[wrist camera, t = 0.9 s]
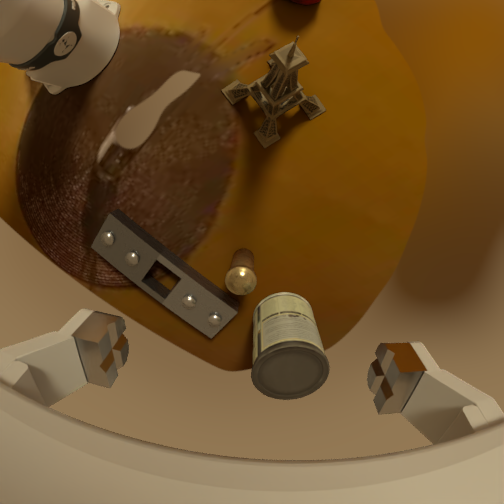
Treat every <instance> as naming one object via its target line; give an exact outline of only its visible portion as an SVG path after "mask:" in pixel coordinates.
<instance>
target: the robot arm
mask: <svg viewBox="0 0 504 504" xmlns="http://www.w3.org/2000/svg"><path fill="white" fill-rule="evenodd" d="M107 7H109V8H107ZM119 12H120V5H119V4H118V3H116V2H112V1H106V0H0V62H4V63H9V65H11V66H12V67H15V68H17V69H21V70H27V72H26V75H28V76H29V77H31V80H33V81H36V82H40V83H43V84H44V86H45V87H46V88H47V90H48V91H49V93H51V94H54V95H56V94H58V93H60V92H61V91H63V90H64V89H66V88H68V87H73V86H78V85H81V84H84V83H86V82H88V81H89V80H91V79H92V78H94V77H95V76H96V75H97V74H99V73H100V72H101V71H102V70H103V69H104V67H105V66H106V65H107V64H108V62H109V61H110V59H111V58H112V56H113V54H114V52H115V50H116V48H117V45H118V41H119V35H120V30H119V24H118V16H119ZM125 329H126V326H125V321H124V319H123V318H122V317H120V316H115V315H111V314H107V313H102V312H98V311H94V310H89V309H81V310H80V311H78V313H76V314H75V315H74V316H73V318H71V319H70V320H69V322H67V323H66V324H65V325H64V326H63V327H62V328H61V329H60V330H59V332H55V331H54V332H50V333H47V334H44V335H41V336H38V337H35V338H32V339H29V340H27V341H23V342H20V343H17V344H14V345H11V346H8V347H5V348H2V349H0V504H504V413H503V412H502V411H501V409H500V407H499V406H498V404H497V403H496V402H495V400H494V398H492V397H490V396H489V395H487V394H485V393H484V392H482V391H480V390H478V389H477V388H475V387H473V386H471V385H470V384H468V383H466V382H464V381H463V380H461V379H459V378H458V377H456V376H454V375H452V374H451V373H449V372H447V371H445V370H440V369H439V367H438V365H437V364H436V362H435V361H434V359H433V358H432V356H431V355H430V354H429V352H428V351H427V349H426V348H425V347H424V345H423V343H421V342H419V341H417V342H407V343H380V345H379V346H378V348H377V350H376V352H375V354H376V357H377V359H376V360H375V361H374V362H372V363H371V365H370V368H369V371H368V378H367V381H368V386H369V389H370V391H371V392H373V393H374V394H375V395H376V396H375V398H374V403H375V406H376V409H377V411H378V414H392V413H401V414H402V415H403V416H404V417H405V418H406V419H407V420H408V421H409V422H410V423H411V424H412V425H413V426H415V427H416V428H417V429H418V430H419V431H420V432H421V433H422V434H423V435H424V436H425V437H426V438H427V439H428V440H430V441H431V442H432V443H433V445H429V446H425V447H420V448H415V449H411V450H405V451H400V452H394V453H388V454H382V455H374V456H366V457H357V458H345V459H333V460H332V459H331V460H297V461H296V460H293V461H292V460H264V459H262V460H261V459H249V458H238V457H228V456H220V455H213V454H205V453H199V452H193V451H188V450H182V449H177V448H172V447H167V446H163V445H159V444H154V443H150V442H146V441H142V440H139V439H135V438H131V437H128V436H124V435H121V434H118V433H115V432H111V431H108V430H105V429H102V428H99V427H96V426H94V425H91V424H88V423H85V422H83V421H80V420H78V419H75V418H72V417H70V416H68V415H65V414H63V413H60V412H58V411H56V410H54V409H51V408H49V407H50V406H51V405H53V404H55V403H56V402H58V401H60V400H61V399H63V398H65V397H66V396H68V395H70V394H71V393H73V392H74V391H76V390H78V389H79V388H81V387H83V386H84V385H86V384H88V382H89V383H92V384H96V385H99V386H103V387H107V388H111V386H112V385H113V383H114V381H115V379H116V378H117V376H118V373H117V369H119V368H121V367H123V366H124V364H125V362H126V361H127V356H128V350H129V345H128V339H127V338H126V337H125V336H124V334H123V332H124V331H125Z"/></svg>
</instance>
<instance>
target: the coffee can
mask: <svg viewBox="0 0 504 504" xmlns="http://www.w3.org/2000/svg"><path fill="white" fill-rule="evenodd" d="M328 374H329V362H328V360H327V357H326V356H325V352H324V349H323V345H322V342H321V339H320V336H319V333H318V329H317V326H316V323H315V319H314V316H313V312H312V309H311V306H310V304H309V303H308V302H307V301H306V300H305V299H304V298H303V297H301V296H299V295H297V294H294V293H288V292H282V293H276V294H273V295H270V296H268V297H267V298H265V299H263V300H262V301H261V302H260V303H259V304H258V306H257V307H256V309H255V311H254V315H253V366H252V372H251V378H252V381H253V384H254V385H255V387H256V388H257V389H258V390H259V391H260V392H261V393H263V394H264V395H266V396H268V397H272V398H275V399H283V400H288V399H289V400H290V399H297V398H301V397H304V396H307V395H309V394H311V393H313V392H314V391H316V390H317V389H319V388H320V387H321V386H322V385H323V383H324V382H325V381H326V379H327V377H328Z"/></svg>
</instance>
